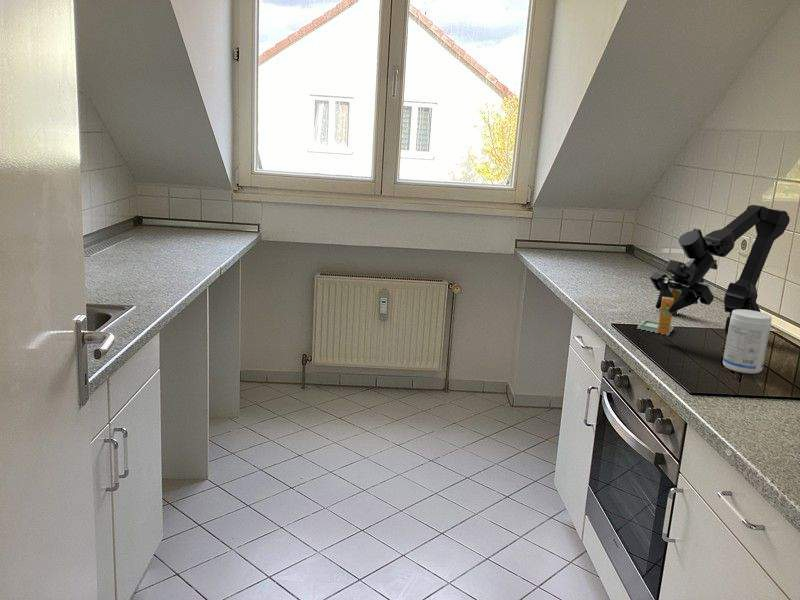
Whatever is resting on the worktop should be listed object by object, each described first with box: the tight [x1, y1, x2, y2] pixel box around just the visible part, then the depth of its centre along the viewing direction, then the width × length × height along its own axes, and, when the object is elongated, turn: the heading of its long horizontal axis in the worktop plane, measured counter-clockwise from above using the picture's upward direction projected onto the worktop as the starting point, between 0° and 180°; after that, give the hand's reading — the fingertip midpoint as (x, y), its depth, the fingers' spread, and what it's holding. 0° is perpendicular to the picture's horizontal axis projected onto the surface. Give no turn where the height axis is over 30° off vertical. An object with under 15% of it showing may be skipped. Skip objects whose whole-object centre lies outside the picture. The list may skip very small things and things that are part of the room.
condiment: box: [658, 276, 687, 317], centre depth 251 cm, size 7×8×12 cm
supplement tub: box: [722, 309, 773, 375], centre depth 192 cm, size 10×10×15 cm
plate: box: [636, 319, 675, 336], centre depth 227 cm, size 9×9×2 cm
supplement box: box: [657, 297, 674, 335], centre depth 211 cm, size 3×3×10 cm
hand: (663, 309), depth 210 cm, fingers closed on supplement box, 4 cm apart
